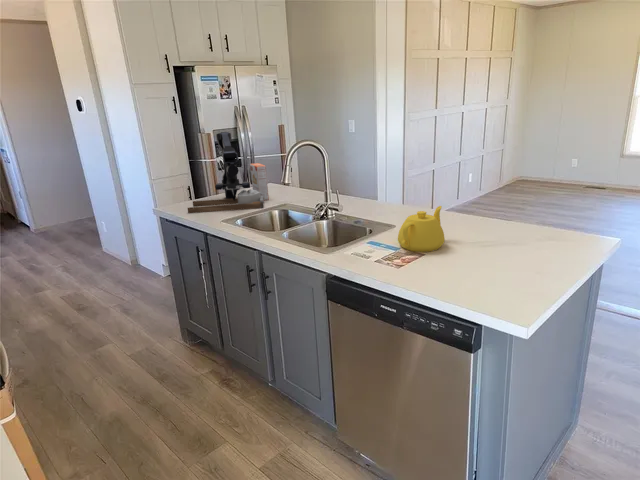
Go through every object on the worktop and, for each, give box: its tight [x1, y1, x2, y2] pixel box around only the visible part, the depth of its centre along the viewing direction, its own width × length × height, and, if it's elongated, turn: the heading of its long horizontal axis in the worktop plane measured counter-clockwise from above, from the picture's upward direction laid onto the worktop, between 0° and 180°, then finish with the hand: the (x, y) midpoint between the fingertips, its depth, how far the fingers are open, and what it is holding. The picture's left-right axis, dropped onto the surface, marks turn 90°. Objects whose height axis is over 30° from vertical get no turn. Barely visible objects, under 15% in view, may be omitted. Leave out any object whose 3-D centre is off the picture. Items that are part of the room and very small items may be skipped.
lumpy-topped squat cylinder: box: [236, 188, 260, 204], centre depth 245 cm, size 10×13×9 cm
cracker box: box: [249, 162, 270, 202], centre depth 259 cm, size 14×6×21 cm, turn 25°
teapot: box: [397, 205, 446, 253], centre depth 167 cm, size 25×18×14 cm
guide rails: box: [187, 195, 265, 214], centre depth 245 cm, size 17×41×4 cm, turn 96°
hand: (234, 200), depth 245 cm, fingers closed
